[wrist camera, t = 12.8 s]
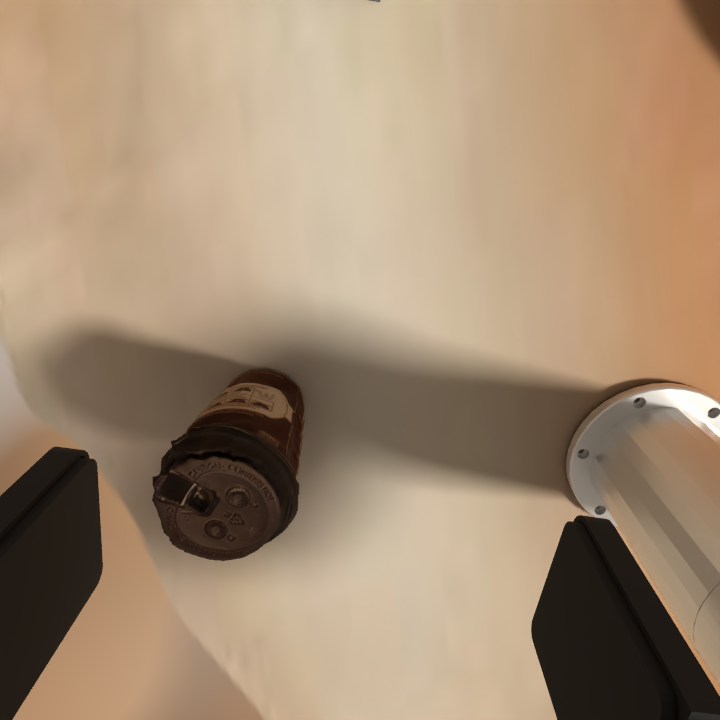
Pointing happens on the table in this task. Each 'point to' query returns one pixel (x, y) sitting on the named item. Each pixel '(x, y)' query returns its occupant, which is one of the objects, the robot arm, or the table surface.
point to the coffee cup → (234, 469)
